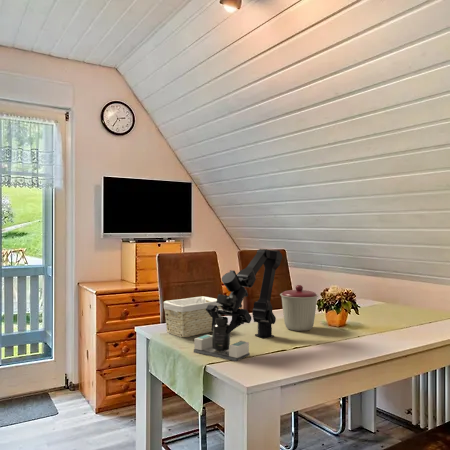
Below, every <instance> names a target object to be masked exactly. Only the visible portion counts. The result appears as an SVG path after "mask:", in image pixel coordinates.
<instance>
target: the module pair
mask: <svg viewBox="0 0 450 450" xmlns="http://www.w3.org/2000/svg"><path fill="white" fill-rule="evenodd" d="M193 345H194V349H197V350H204V349H207V348H209V347H212V335H210V334H204V335H201V336H199V337H195V338H194V344H193ZM194 349H193V350H194ZM249 351H250V343H249V341H243V340H239V341H236V342H235V343H232V344H230V345H229V356H230V357H235V358H238V357H240V356H243V355H245V354H247V353H250V352H249Z"/></svg>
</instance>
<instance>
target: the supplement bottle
mask: <svg viewBox="0 0 450 450" xmlns="http://www.w3.org/2000/svg"><path fill="white" fill-rule="evenodd" d="M215 323H216V324H214V325H213V331H212V332H211V333H212V348H213V349H214V350H217V351H226V350H228V349H229V345H231V332H230V333H229V334H227V333H226V331H227V328H228V326H229V317H227V316H224V315H221V316H219V317H216V318H215Z"/></svg>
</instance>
